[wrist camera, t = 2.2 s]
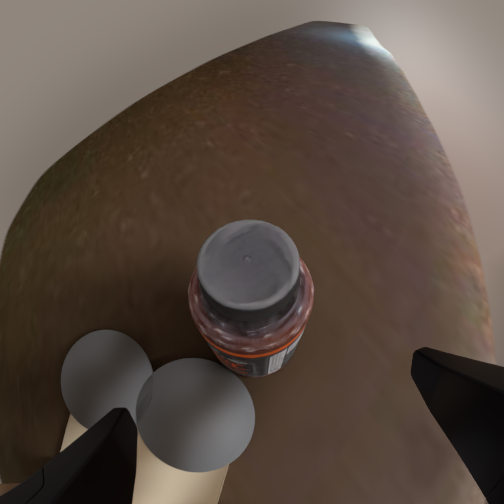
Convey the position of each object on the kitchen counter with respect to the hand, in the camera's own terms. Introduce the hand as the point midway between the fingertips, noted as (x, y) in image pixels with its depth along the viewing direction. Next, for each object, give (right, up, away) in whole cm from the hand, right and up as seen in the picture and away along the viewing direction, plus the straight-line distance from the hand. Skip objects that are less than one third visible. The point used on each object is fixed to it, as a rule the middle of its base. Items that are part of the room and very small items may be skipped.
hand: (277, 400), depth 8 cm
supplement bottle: (-1, -2, +13) cm, 13 cm away
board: (-9, -12, +7) cm, 16 cm away
